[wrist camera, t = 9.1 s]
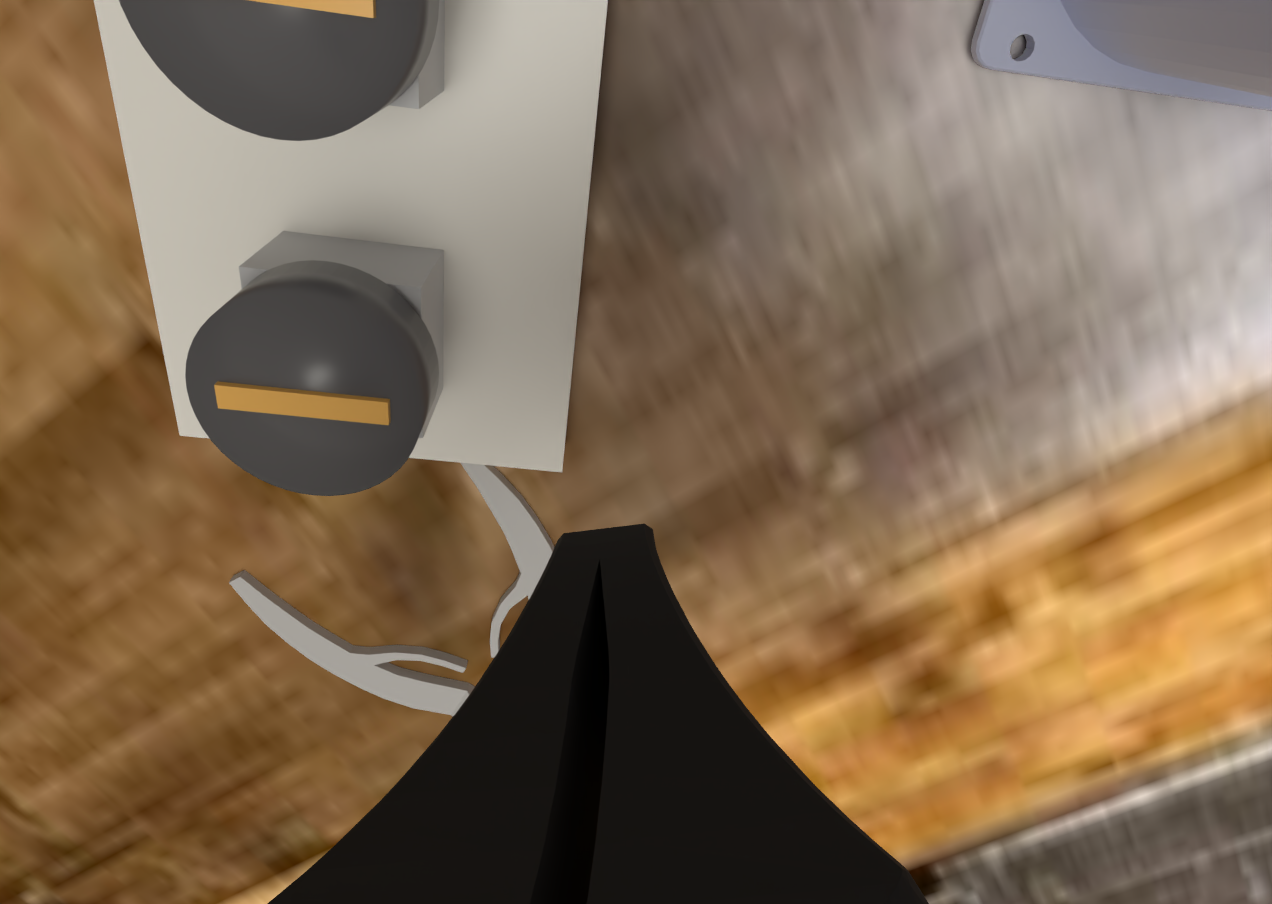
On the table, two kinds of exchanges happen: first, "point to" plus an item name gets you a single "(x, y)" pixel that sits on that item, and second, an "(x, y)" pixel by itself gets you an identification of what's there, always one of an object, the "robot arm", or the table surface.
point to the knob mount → (397, 211)
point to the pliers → (404, 684)
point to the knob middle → (288, 58)
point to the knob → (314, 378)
